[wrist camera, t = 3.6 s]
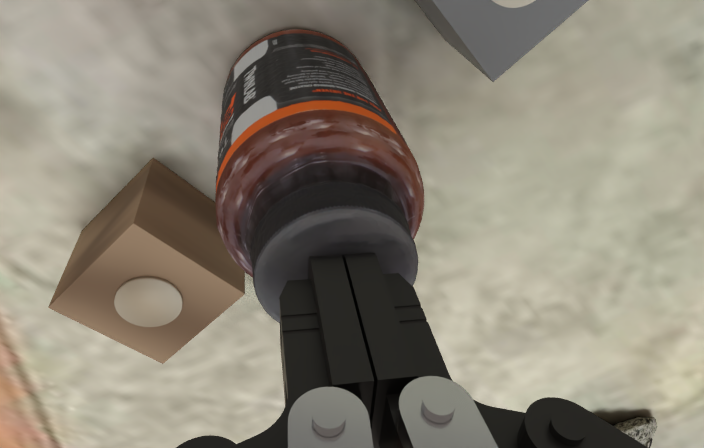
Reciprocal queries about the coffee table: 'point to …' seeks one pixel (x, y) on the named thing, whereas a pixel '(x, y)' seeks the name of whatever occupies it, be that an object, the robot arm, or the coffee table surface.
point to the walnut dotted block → (151, 266)
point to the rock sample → (639, 429)
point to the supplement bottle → (311, 165)
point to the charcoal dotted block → (496, 27)
